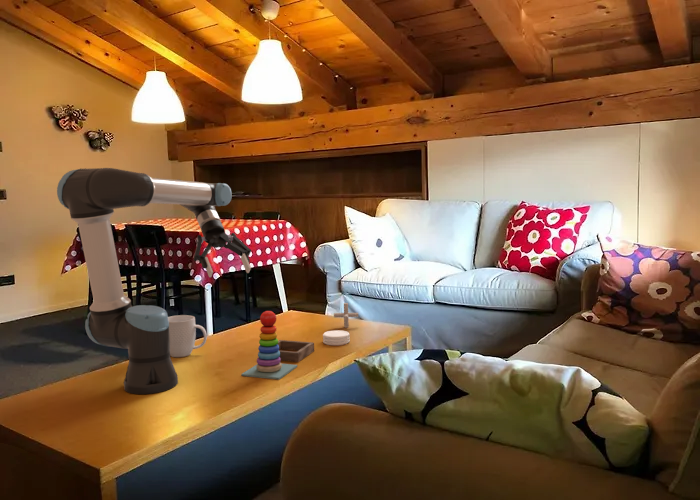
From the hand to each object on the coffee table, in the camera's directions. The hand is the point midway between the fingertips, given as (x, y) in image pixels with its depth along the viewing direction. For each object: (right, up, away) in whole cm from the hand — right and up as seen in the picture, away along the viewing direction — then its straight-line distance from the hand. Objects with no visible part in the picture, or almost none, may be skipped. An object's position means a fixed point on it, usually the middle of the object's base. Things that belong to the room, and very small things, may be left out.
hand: (230, 272), depth 195 cm
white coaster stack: (+35, -27, +22) cm, 49 cm away
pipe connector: (+39, -24, +44) cm, 63 cm away
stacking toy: (+14, -30, -11) cm, 35 cm away
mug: (-18, -29, +9) cm, 36 cm away
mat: (+15, -31, -11) cm, 36 cm away
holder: (+19, -29, +7) cm, 35 cm away
